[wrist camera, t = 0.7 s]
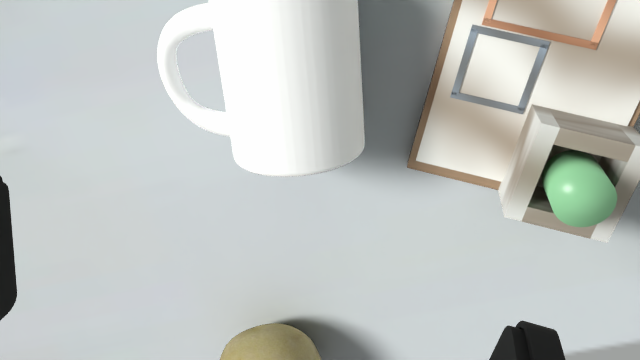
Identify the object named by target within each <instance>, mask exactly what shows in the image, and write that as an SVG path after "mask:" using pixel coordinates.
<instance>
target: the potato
mask: <svg viewBox="0 0 640 360" xmlns="http://www.w3.org/2000/svg"><path fill="white" fill-rule="evenodd" d="M220 360H321V357H320V355H319V353H318V351H317V349H316V347H315V345H314V343H313V342H312V340H311V339H310V338H309V337H308V336H307V335H306V334H304V333H303V332H302V331H300V330H298V329H296V328H294V327H292V326H289V325H285V324H277V323H273V324H265V325H260V326H256V327H253V328H250V329H248V330H245V331H243V332H241V333H239V334H238V335H236V336H235V337H234V338H233V339H231V340H230V341H229V343H228V344H227V345H226V347H225V348H224V350H223V353H222V355H221V358H220Z"/></svg>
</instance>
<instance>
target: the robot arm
mask: <svg viewBox="0 0 640 360" xmlns="http://www.w3.org/2000/svg"><path fill="white" fill-rule="evenodd" d="M16 297H17V287H16V275H15V262H14V250H13V237H12V225H11V212H10V199H9V190H8V186H7V185H6V184H5V183H3V181H2V178H1V176H0V320H1V319H2V318H3V317H4V316H5V315H7V314H8V312H9V311H10V310H11V309H12V307H13V305H14V303H15V301H16ZM489 360H565V357H564V353H563V350H562V346H561V343H560V339H559V336H558V334H557V332H556V331H555V330H554V329H550V328H547V327H543V326H540V325H536V324H533V323H529V322H525V321H520V322H519V323H518V324H517V325H516V327H512V326H507V327H506V328H505V329H504V331H503V332H502V335H501V337H500V339H499V341H498V343H497V345H496V347H495V349H494V351H493V353H492V355H491V357H490V359H489Z"/></svg>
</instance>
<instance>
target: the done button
mask: <svg viewBox="0 0 640 360" xmlns="http://www.w3.org/2000/svg"><path fill="white" fill-rule="evenodd" d="M541 180H542V185H543V187H544V190H545V192H546V195H547V197H548V200H549V202H550V205H551V207H552V210H553V212H554V214H555V215H556V217H557V218H558V219H559V220H560V221H562V222H563V223H565V224H567V225H570V226H574V227H589V226H593V225H596V224H598V223H600V222H602V221H604V220H605V219H606V218H608V217H609V216H610V215H611V213H612V212H613V210H614V209H615V206H616V203H617V193H616V190H615V187H614V186H613V184H612V183H611V181H610V180H609V178H608V177H607V175H606V174H605V172H604V171H603V169H602V168H601V166H600V165H599V163H598V162H597V160H596V159H595V158H594V157H593V156H592V155H590V154H589V153H586V152H582V151H578V150H568V151H564V152H561V153H558V154H557V155H555V156H553V157H552V158H551V159H550V160H549V161H548V162H547V163H546V164H545V166H544V168H543V170H542V174H541Z"/></svg>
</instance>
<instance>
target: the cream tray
mask: <svg viewBox="0 0 640 360" xmlns="http://www.w3.org/2000/svg"><path fill="white" fill-rule="evenodd" d="M639 114H640V0H454V2H453V6H452V9H451V13H450V16H449V20H448V23H447V27H446V30H445V34H444V37H443V41H442V44H441V48H440V51H439V55H438V58H437V62H436V65H435V69H434V72H433V76H432V79H431V83H430V86H429V90H428V93H427V97H426V100H425V104H424V107H423V111H422V114H421V118H420V121H419V125H418V128H417V132H416V135H415V139H414V142H413V146H412V149H411V153H410V156H409V160H408V164H407V168H411V169H415V170H419V171H423V172H427V173H431V174H435V175H439V176H443V177H447V178H451V179H456V180H460V181H464V182H468V183H472V184H476V185H480V186H484V187H488V188H492V189H496V190H498V192H499V196H500V200H501V205H502V209H503V213H504V217H506V218H510V219H514V220H518V221H522V222H526V223H530V224H534V225H538V226H542V227H546V228H550V229H554V230H558V231H562V232H566V233H570V234H574V235H578V236H582V237H586V238H590V239H594V240H598V241H602V242H606V243H608V241H609V239H610V237H611V235H612V233H613V231H614V229H615V227H616V225H617V223H618V221H619V220H620V218H621V216H622V214H623V212H624V210H625V208H626V206H627V204H628V202H629V200H630V198H631V196H632V194H633V192H634V190H635V188H636V186H637V184H638V182H639V180H640V134H639V132H638V131H637V130H636V129H635V128H634V127H633V126H634V124H635V122H636V120H637V118H638V116H639ZM568 150H578V151H582V152H586V153H589V154H590V155H592V156H593V157H594V158H595V159H596V160H597V162H598V163H599V165H600V166H601V168H602V169H603V171H604V172H605V174H606V175H607V177H608V178H609V180H610V181H611V183H612V184H613V186H614V187H615V190H616V193H617V203H616V206H615V209H614V210H613V212H612V213H611V215H610V216H609V217H608V218H606V219H605V220H604V221H602V222H600V223H598V224H596V225H593V226H589V227H574V226H570V225H567V224H565V223H563V222H562V221H560V220H559V219H558V218H557V217H556V215H555V214H554V212H553V210H552V207H551V205H550V202H549V200H548V197H547V195H546V192H545V190H544V187H543V185H542V180H541V174H542V170H543V168H544V166H545V164H546V163H547V162H548V161H549V160H550V159H551V158H552V157H553V156H555V155H557V154H558V153H561V152H564V151H568Z"/></svg>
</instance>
